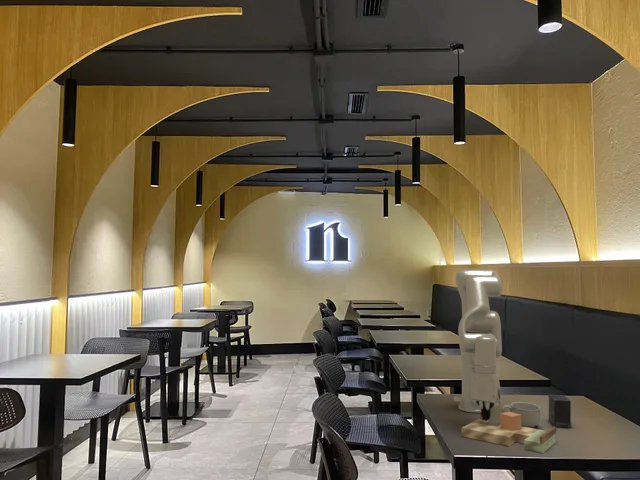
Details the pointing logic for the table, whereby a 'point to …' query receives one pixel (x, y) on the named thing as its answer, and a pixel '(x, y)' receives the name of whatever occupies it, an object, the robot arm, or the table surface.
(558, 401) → the small box
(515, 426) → the block
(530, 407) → the teacup
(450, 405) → the table surface
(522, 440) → the board
